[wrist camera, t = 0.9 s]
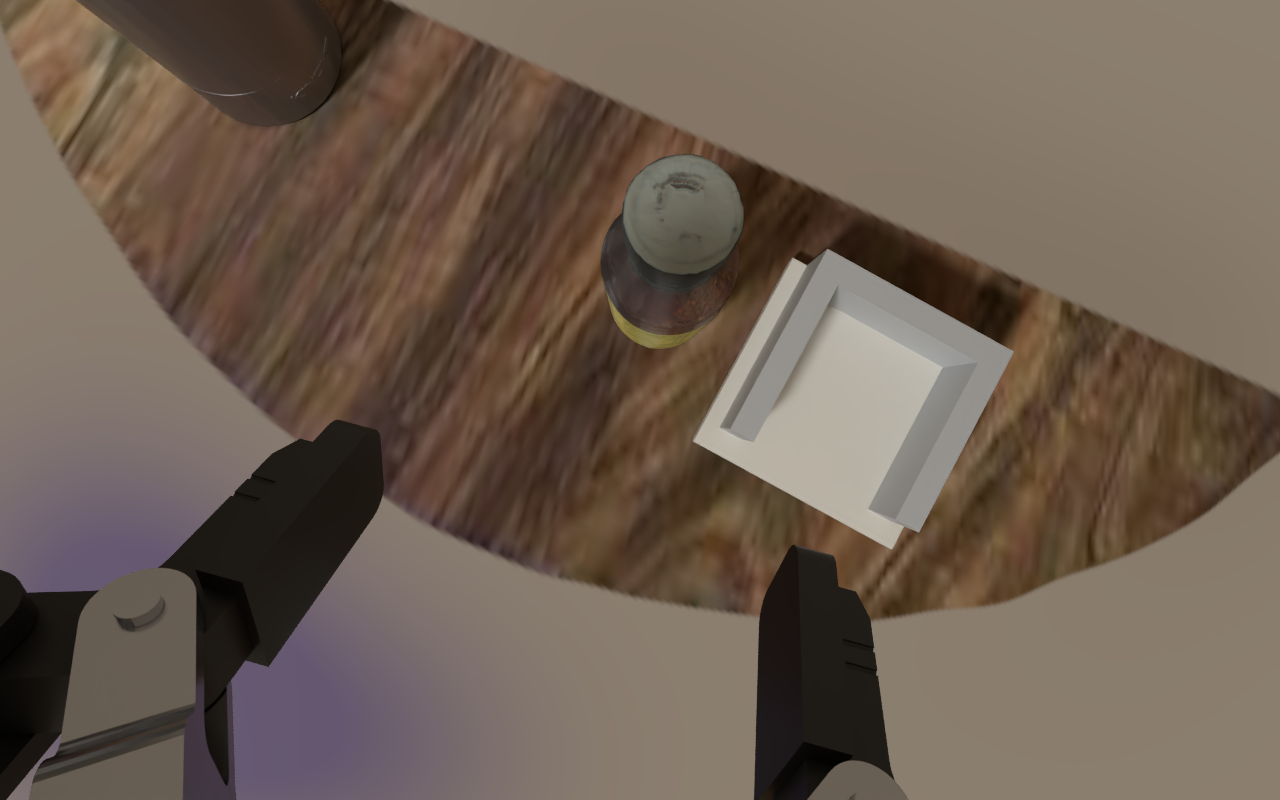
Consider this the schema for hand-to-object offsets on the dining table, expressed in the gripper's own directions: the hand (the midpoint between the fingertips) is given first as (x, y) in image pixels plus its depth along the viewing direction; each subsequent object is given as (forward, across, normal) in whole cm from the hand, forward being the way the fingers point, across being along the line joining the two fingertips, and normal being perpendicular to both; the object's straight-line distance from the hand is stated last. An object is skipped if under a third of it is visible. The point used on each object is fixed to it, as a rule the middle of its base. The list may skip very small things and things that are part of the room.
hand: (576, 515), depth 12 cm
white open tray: (+26, -12, +13) cm, 32 cm away
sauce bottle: (+28, 0, +10) cm, 30 cm away
